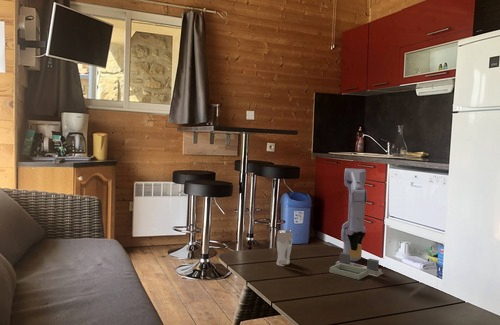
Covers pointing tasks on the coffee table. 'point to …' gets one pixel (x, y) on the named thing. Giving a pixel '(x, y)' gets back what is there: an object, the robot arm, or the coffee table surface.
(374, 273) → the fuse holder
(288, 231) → the beer glass
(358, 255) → the block
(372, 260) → the block
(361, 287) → the coffee table surface
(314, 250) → the coffee table surface
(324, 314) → the coffee table surface
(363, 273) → the tray
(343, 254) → the block
